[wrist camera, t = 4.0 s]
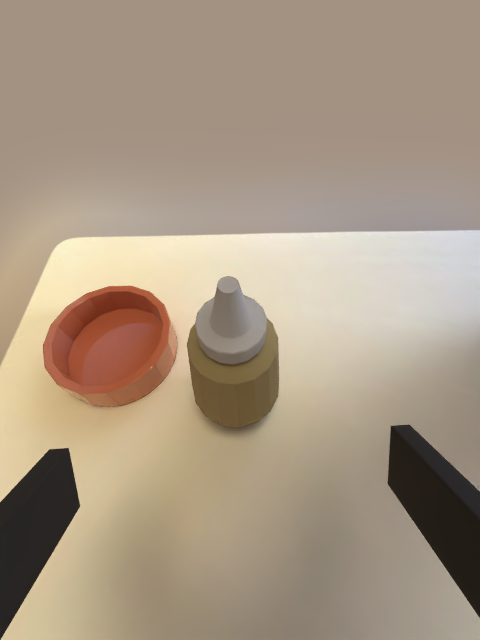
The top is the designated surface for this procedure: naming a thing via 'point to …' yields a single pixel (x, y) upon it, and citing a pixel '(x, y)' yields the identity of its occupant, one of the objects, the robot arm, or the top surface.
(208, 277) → the top surface
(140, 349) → the holder
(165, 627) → the top surface
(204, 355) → the squeeze bottle
